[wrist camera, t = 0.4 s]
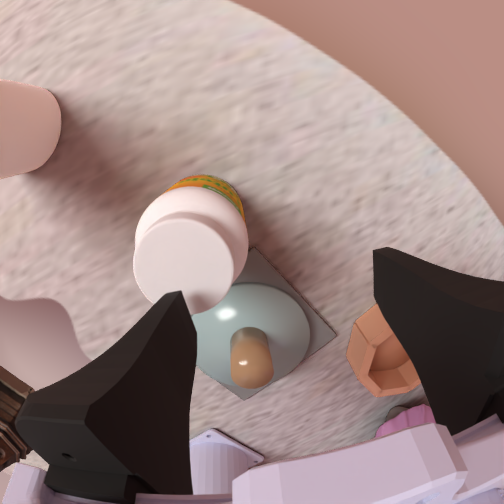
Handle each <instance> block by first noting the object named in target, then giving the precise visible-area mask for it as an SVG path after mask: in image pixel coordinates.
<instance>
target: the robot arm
mask: <svg viewBox="0 0 504 504" xmlns="http://www.w3.org/2000/svg"><path fill="white" fill-rule="evenodd" d="M373 271H374V298H375V300H376V302H377V304H378V307H379V309H380V311H381V313H382V315H383V317H384V318H385V320H386V322H387V323H388V325H389V326H390V328H391V329H392V331H393V333H394V334H395V336H396V337H397V339H398V340H399V342H400V343H401V345H402V347H403V348H404V350H405V351H406V353H407V355H408V356H409V358H410V360H411V362H412V363H413V365H414V367H415V370H416V372H417V374H418V376H419V379H420V381H421V383H422V386H423V388H424V391H425V393H426V396H427V398H428V401H429V404H430V407H431V410H432V413H433V416H434V419H435V422H436V423H429V422H428V423H424V424H420V425H415V426H411V427H407V428H404V429H401V430H398V431H395V432H392V433H389V434H386V435H383V436H380V437H377V438H374V439H370V440H367V441H364V442H360V443H357V444H353V445H349V446H346V447H342V448H338V449H334V450H330V451H325V452H321V453H316V454H312V455H307V456H302V457H297V458H291V459H286V460H280V461H276V462H272V463H268V464H264V465H260V466H256V467H252V466H254V465H256V464H258V463H260V462H262V461H264V457H263V456H262V455H260V454H258V453H256V452H254V451H252V450H250V449H249V448H247V447H245V446H243V445H241V444H240V443H238V442H236V441H234V440H233V439H231V438H229V437H227V436H226V435H224V434H222V433H221V432H219V431H217V430H215V429H210V430H208V431H206V432H204V433H202V434H200V435H199V436H197V437H195V438H193V439H191V440H189V413H190V402H191V395H192V388H193V381H194V374H195V368H196V361H197V331H196V328H195V326H194V323H193V320H192V318H191V315H190V312H189V310H188V307H187V304H186V302H185V299H184V296H183V293H182V291H181V290H180V291H174V292H169V293H166V294H164V295H163V296H162V297H161V298H160V299H159V300H158V301H157V302H156V303H155V304H154V305H153V306H152V307H151V309H150V310H149V311H148V312H147V313H146V314H145V315H144V316H143V317H142V318H141V319H140V320H139V321H138V322H137V323H136V324H135V325H134V326H133V327H132V328H131V329H130V330H129V331H128V332H127V333H126V334H125V335H124V336H123V337H122V338H121V339H120V340H119V341H118V342H116V343H115V344H114V345H113V346H112V347H110V348H109V349H108V350H107V351H105V352H104V353H103V354H102V355H100V356H99V357H98V358H96V359H95V360H93V361H92V362H90V363H89V364H87V365H86V366H84V367H83V368H81V369H80V370H78V371H77V372H75V373H73V374H71V375H70V376H68V377H66V378H64V379H62V380H60V381H58V382H56V383H54V384H52V385H50V386H47V387H45V388H43V389H40V390H38V391H35V392H33V393H30V394H28V396H27V398H26V400H25V402H24V404H23V406H22V408H21V409H20V411H19V413H18V415H17V417H16V420H15V426H16V429H17V431H18V433H19V435H20V436H21V437H22V439H23V440H24V441H25V442H26V443H27V444H28V445H29V446H30V447H31V448H32V449H33V450H34V451H35V452H36V453H37V454H38V455H40V456H41V457H42V458H43V459H44V460H45V461H46V462H47V463H48V464H50V465H49V468H48V471H47V472H46V471H45V470H43V469H41V468H38V467H34V466H30V465H26V464H22V463H16V465H15V468H14V471H13V473H12V476H11V479H10V481H9V485H8V487H7V490H6V493H5V495H4V498H3V501H2V504H504V282H503V281H496V280H489V279H483V278H478V277H474V276H470V275H466V274H462V273H458V272H455V271H452V270H449V269H446V268H443V267H440V266H437V265H435V264H432V263H429V262H427V261H424V260H422V259H419V258H417V257H414V256H412V255H409V254H407V253H404V252H402V251H399V250H396V249H393V248H390V247H385V248H381V249H376V250H373ZM250 467H252V468H251V469H249V470H248V468H250Z"/></svg>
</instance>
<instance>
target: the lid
mask: <svg viewBox="0 0 504 504" xmlns="http://www.w3.org/2000/svg"><path fill="white" fill-rule="evenodd" d="M191 318H192V320H193V323H194V326H195V328H196V331H197V361H196V365H197V366H198V367H199V369H200V370H202V371H203V372H204V373H205V374H206V375H208V376H209V377H211V378H213V379H215V380H216V381H219V382H221V383H224V384H228V385H232V386H238V387H243V388H247V389H255V388H260V387H262V386H264V385H266V384H268V383H271V382H274V381H276V380H278V379H280V378H282V377H284V376H285V375H287V374H288V373H290V372H291V371H292V370H293V369H294V368H295V367H296V366H297V365H298V364H299V363H300V362H301V360H302V359H303V357H304V355H305V354H306V351H307V349H308V345H309V341H310V328H309V324H308V321H307V318H306V316H305V313H304V311H303V309H302V308H301V306H300V305H299V303H298V302H297V301H296V300H295V299H294V298H293V297H292V296H291V295H289V294H288V293H286V292H285V291H283V290H281V289H279V288H277V287H275V286H272V285H269V284H264V283H258V282H242V283H235V284H232V285H231V288H230V290H229V292H228V293H227V295H226V296H225V297H224V299H223V300H222V301H221V302H220V303H218V304H217V305H216V306H214V307H213V308H211V309H209V310H207V311H205V312H202V313H198V314H192V316H191Z"/></svg>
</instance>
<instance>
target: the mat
mask: <svg viewBox="0 0 504 504" xmlns="http://www.w3.org/2000/svg"><path fill="white" fill-rule="evenodd" d="M242 282H258V283H264V284H269V285H272V286H275V287H277V288H279V289H281V290H283V291H285V292H286V293H288V294H289V295H291V296H292V297H293V298H294V299H295V300H296V301H297V302H298V303H299V305H300V306H301V308H302V309H303V311H304V313H305V316H306V318H307V321H308V324H309V328H310V341H309V345H308V349H307V351H306V354H305V355H304V357H303V359H302V360H301V362H302V361H303V360H305V359H306V358H308V357H309V356H310V355H312V354H313V353H314V352H316V351H317V350H319V349H320V348H321V347H323V346H324V345H325V344H327V343H328V342H329V341H330V340H332V339H333V338H334V337H336V336H337V335H336V333H335V332H334V331H333V330H332V329H331V328H330V327H329V326H328V325H327V324H326V322H325V321H324V320H323V319H322V318H321V317H320V316H319V315H318V314H317V313H316V312H315V311H314V310H313V309H312V308H311V306H310V305H309V304H308V303H307V302H306V301H305V300H304V299H303V298H302V297H301V296H300V295H299V294H298V293H297V292H296V291H295V289H294V288H293V287H292V286H291V285H290V284H289V283H288V282H287V281H286V280H285V279H284V278H283V277H282V276H281V275H280V274H279V272H278V271H277V270H276V269H275V268H274V267H273V266H272V265H271V264H270V263H269V262H268V261H267V260H266V259H265V258H264V257H263V256H262V254H261V253H260V252H259V251H258V250H257V249H256V248H255V247H253V248H252V249H250V250H249V251H248V255H247V259H246V263H245V265H244V268H243V270H242V271H241V273H240V275H239V276H238V277H237V279H236V280H235V281H234V282H233V283H232V284H235V283H242ZM191 316H192V315H191ZM301 362H300V363H301ZM196 366H197V365H196ZM217 382H219V381H217ZM219 383H220V384H221V385H223V386H224V387H226V388H227V389H228V390H230V391H231V392H232V393H234V394H235V395H237V396H238V397H240V398H241V399H242V400H246V399H247V398H249V397H250V396H252V395H254V394H255V393H257V392H258V391H260V390H261V389H263V388H264V387H266V386H267V385H269V384H270V383H268V384H266V385H264V386H262V387H260V388H255V389H247V388H243V387H238V386H232V385H228V384H224V383H221V382H219ZM271 383H272V382H271Z"/></svg>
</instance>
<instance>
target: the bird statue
mask: <svg viewBox="0 0 504 504" xmlns="http://www.w3.org/2000/svg"><path fill="white" fill-rule="evenodd" d="M33 392H35V391H34V389H33V388H32V387H30V386H29V385H27V384H26V383H24V382H23V381H21V380H19V379H18V378H17V377H16V376H14V375H13V374H11V373H10V372H8V371H7V370H6V369H4V368H3V367H2V366H0V472H1V471H2V470H3V469H5V468H6V467H8V466H10V465H11V464H13V463H15V462H19V461H20V459H26V455H28V454H29V453H30V451H32V450H33V449H32V448H31V447H30V446H29V445H28V444H27V443H26V442H25V441H24V440H23V439H22V437H21V436H20V435H19V433H18V431H17V429H16V426H15V420H16V417H17V415H18V413H19V411H20V409H21V408H22V406H23V404H24V402H25V400H26V398H27V396H28V394H30V393H33ZM19 458H20V459H19Z"/></svg>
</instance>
